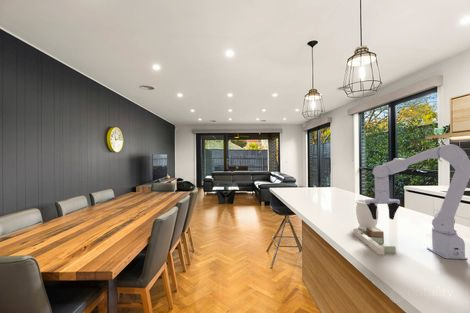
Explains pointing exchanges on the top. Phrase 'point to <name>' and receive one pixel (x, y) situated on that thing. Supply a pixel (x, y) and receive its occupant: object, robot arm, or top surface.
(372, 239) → the rack
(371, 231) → the cardboard box
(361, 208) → the jar
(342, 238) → the top surface
